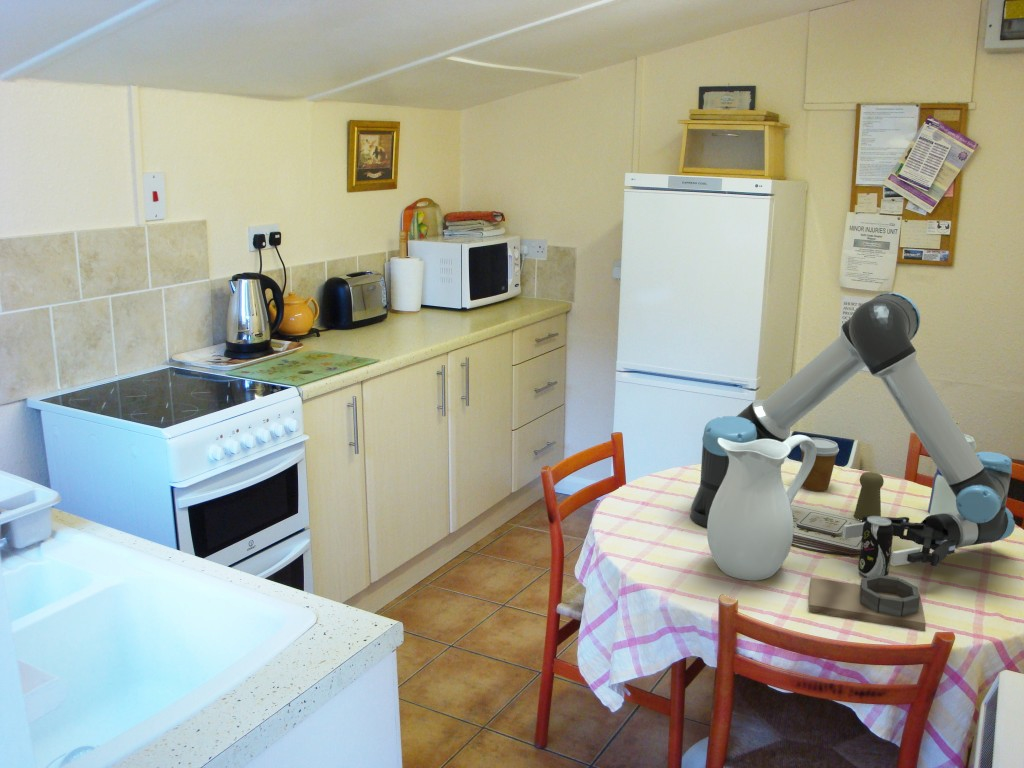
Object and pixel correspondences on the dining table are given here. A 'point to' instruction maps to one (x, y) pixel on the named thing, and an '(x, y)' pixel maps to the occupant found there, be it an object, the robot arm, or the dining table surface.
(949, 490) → the white tall figurine
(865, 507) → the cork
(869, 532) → the beverage can
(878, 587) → the socket plate
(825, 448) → the disposable coffee cup
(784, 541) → the pitcher
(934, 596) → the dining table surface
